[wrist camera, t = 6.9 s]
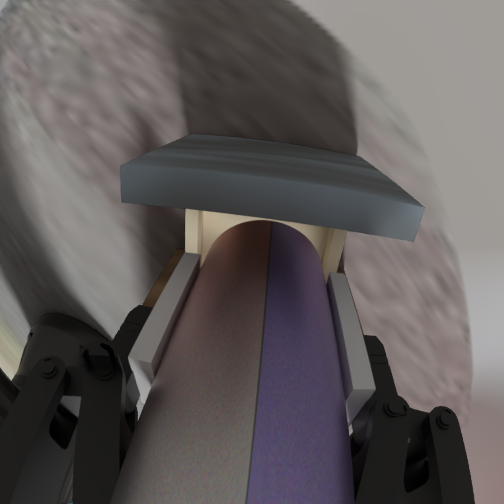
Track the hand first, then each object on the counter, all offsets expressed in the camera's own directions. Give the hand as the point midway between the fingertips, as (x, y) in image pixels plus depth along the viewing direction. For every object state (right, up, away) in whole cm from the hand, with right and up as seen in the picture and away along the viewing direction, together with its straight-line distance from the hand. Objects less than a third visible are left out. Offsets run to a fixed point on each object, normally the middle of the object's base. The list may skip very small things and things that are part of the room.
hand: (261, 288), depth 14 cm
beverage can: (0, +1, +2) cm, 2 cm away
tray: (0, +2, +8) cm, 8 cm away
